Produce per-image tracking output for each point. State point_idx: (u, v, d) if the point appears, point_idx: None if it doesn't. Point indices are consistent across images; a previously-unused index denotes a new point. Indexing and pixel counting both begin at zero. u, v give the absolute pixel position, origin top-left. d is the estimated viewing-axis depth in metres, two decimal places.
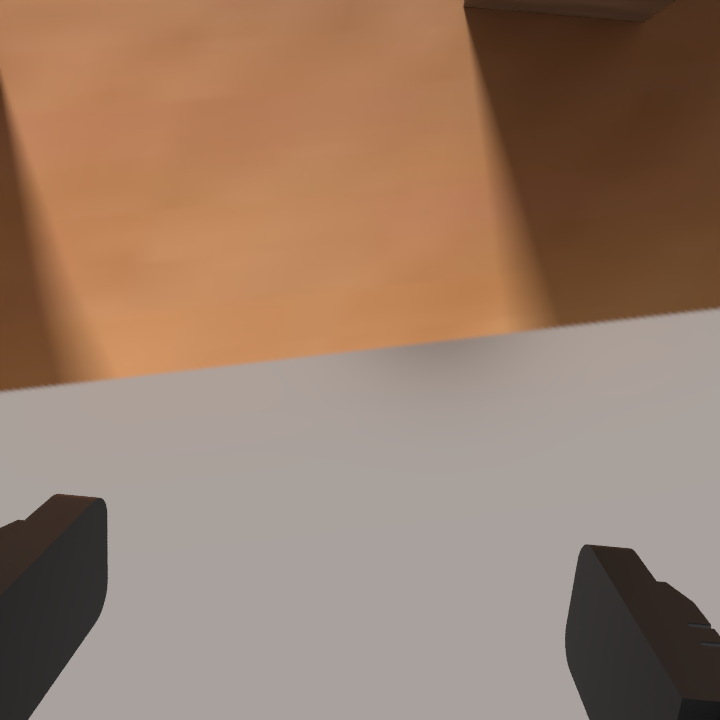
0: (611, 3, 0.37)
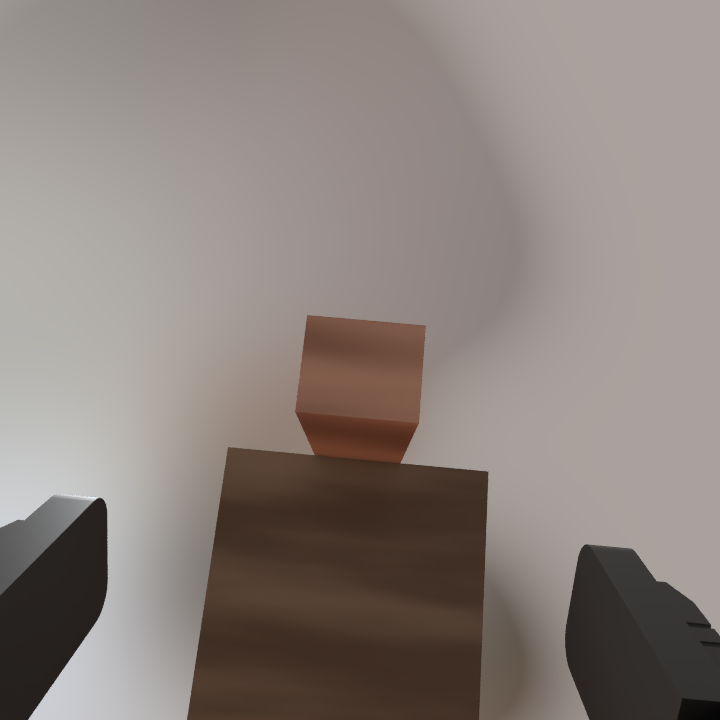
0: None
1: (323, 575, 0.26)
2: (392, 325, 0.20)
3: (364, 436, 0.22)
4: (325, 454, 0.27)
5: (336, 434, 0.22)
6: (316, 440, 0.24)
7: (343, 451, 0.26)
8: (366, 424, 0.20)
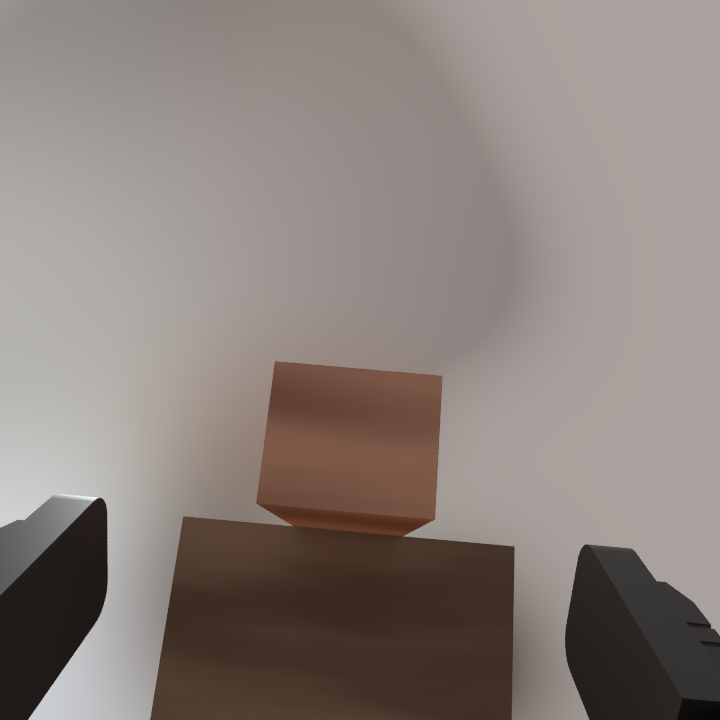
0: None
1: (304, 685, 0.20)
2: (395, 375, 0.14)
3: (356, 521, 0.16)
4: (307, 526, 0.21)
5: (318, 518, 0.16)
6: (293, 519, 0.18)
7: (329, 526, 0.20)
8: (359, 516, 0.14)
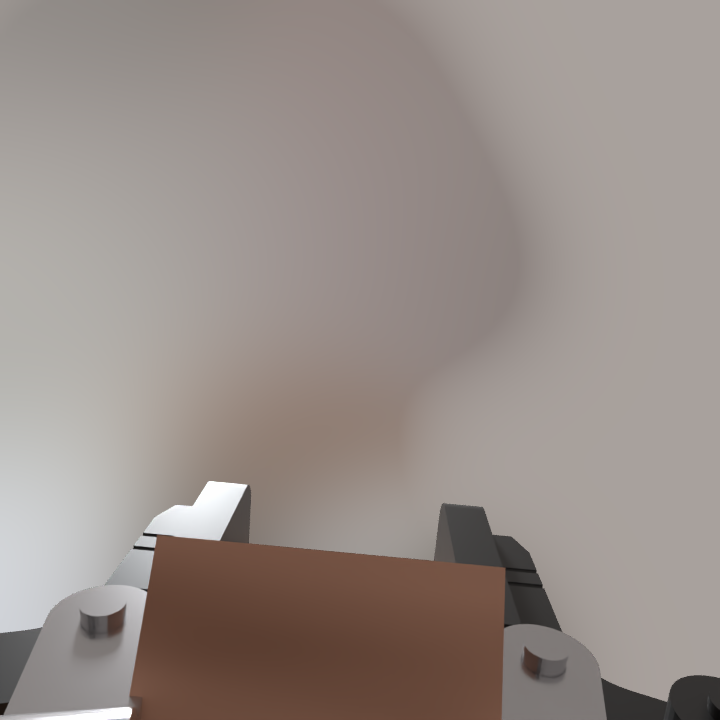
0: None
1: None
2: (407, 567, 0.07)
3: None
4: None
5: None
6: None
7: None
8: None
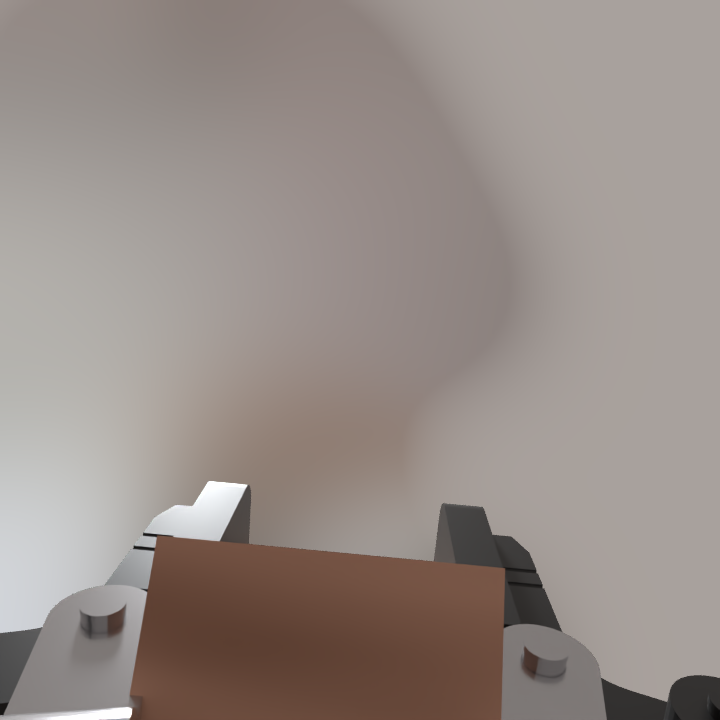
0: None
1: None
2: (407, 568, 0.07)
3: None
4: None
5: None
6: None
7: None
8: None
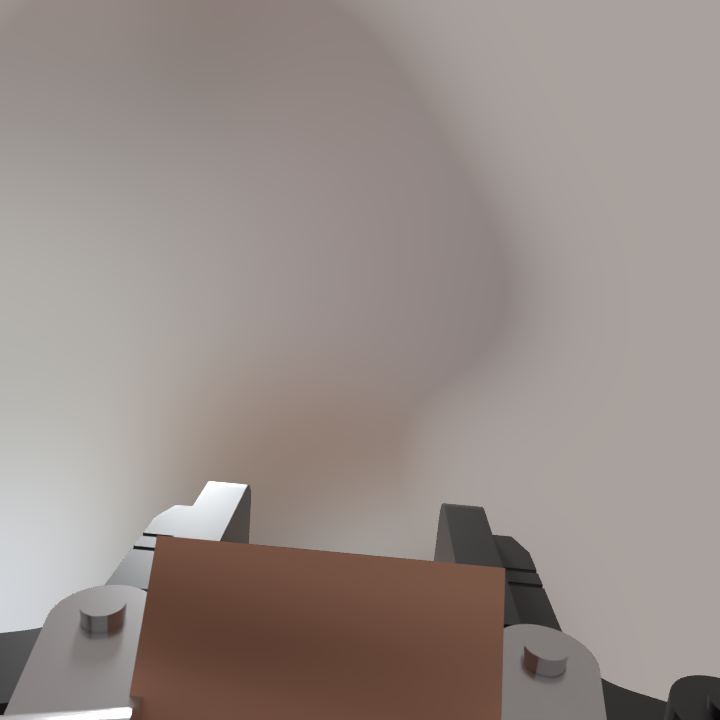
0: None
1: None
2: (407, 567, 0.07)
3: None
4: None
5: None
6: None
7: None
8: None
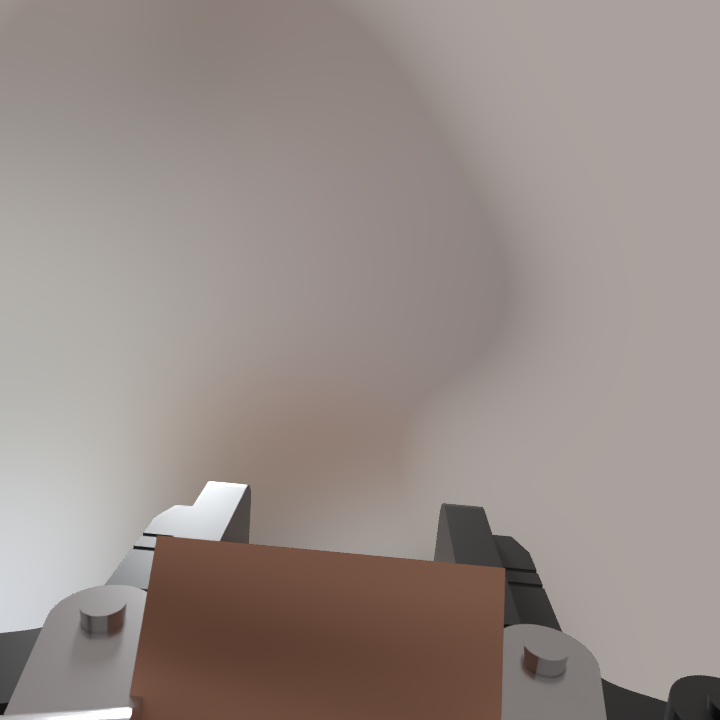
0: None
1: None
2: (407, 567, 0.07)
3: None
4: None
5: None
6: None
7: None
8: None
